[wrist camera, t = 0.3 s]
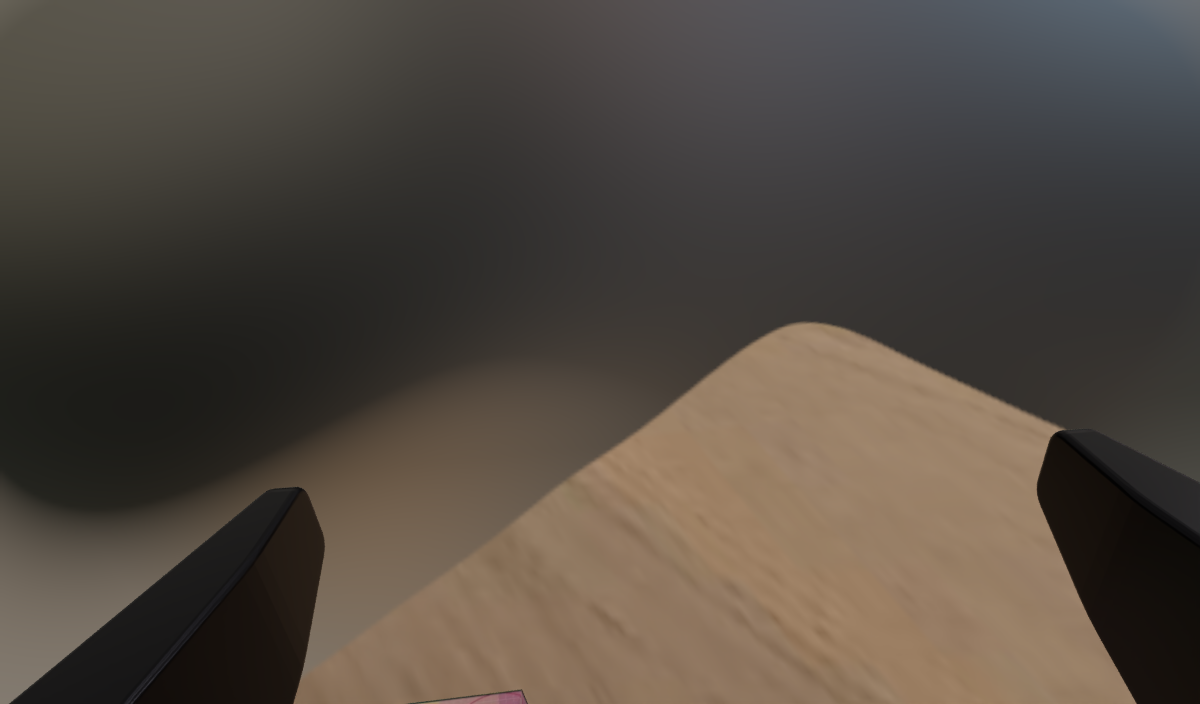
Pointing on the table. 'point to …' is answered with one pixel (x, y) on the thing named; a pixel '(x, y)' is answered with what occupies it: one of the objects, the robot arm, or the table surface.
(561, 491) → the table surface
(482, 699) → the puzzle game
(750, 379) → the table surface
